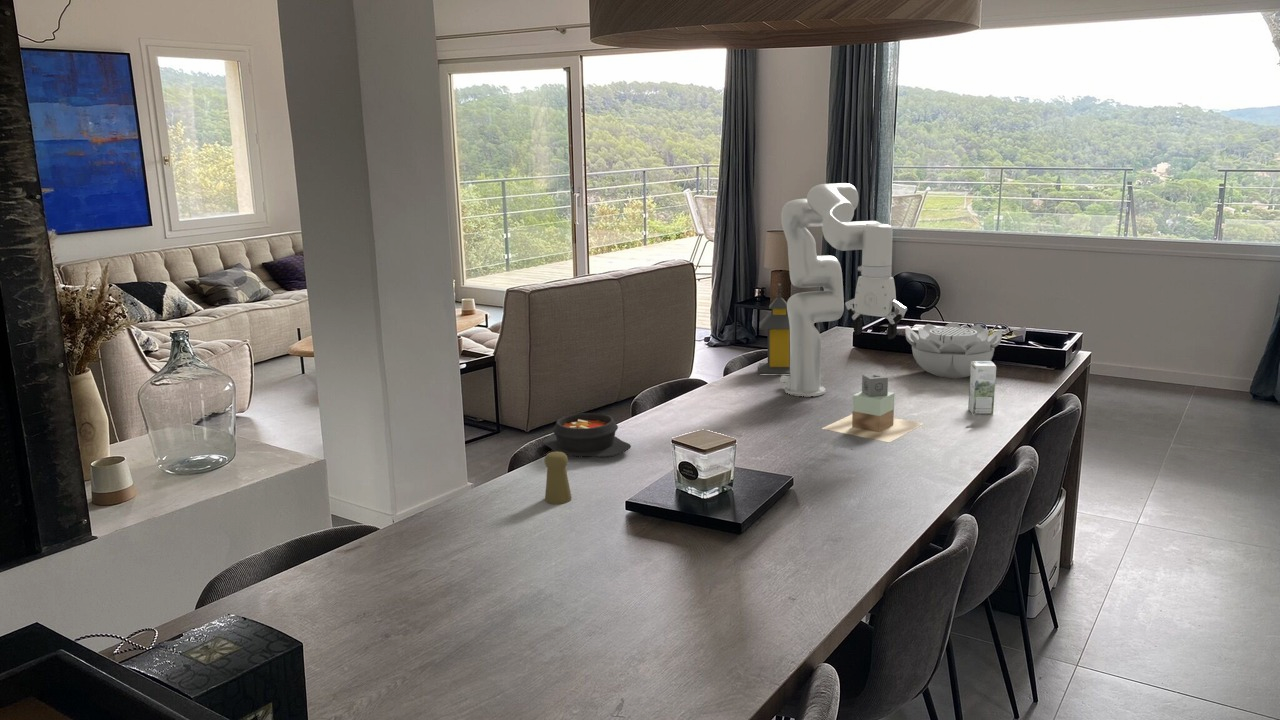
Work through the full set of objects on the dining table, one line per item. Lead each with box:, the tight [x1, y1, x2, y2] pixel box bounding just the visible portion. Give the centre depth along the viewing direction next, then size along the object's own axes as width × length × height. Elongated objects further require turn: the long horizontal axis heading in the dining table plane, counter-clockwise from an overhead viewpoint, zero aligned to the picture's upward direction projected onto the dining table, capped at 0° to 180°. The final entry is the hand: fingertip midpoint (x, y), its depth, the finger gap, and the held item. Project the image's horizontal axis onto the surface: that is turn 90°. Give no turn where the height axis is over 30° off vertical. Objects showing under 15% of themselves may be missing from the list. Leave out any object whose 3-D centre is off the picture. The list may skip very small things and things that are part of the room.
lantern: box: [758, 283, 790, 375], centre depth 321 cm, size 14×14×30 cm
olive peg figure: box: [544, 451, 572, 505], centre depth 212 cm, size 6×6×11 cm
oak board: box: [821, 413, 925, 443], centre depth 254 cm, size 20×20×2 cm
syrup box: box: [967, 360, 997, 415], centre depth 267 cm, size 6×6×14 cm
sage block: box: [852, 390, 895, 416], centre depth 253 cm, size 8×8×4 cm
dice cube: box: [861, 372, 889, 397], centre depth 252 cm, size 5×5×5 cm
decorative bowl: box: [904, 321, 1003, 379], centre depth 309 cm, size 30×30×15 cm
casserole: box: [541, 412, 632, 459], centre depth 245 cm, size 25×19×8 cm
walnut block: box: [851, 408, 895, 432], centre depth 254 cm, size 8×8×4 cm
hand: (874, 336), depth 249 cm, fingers open, 9 cm apart
